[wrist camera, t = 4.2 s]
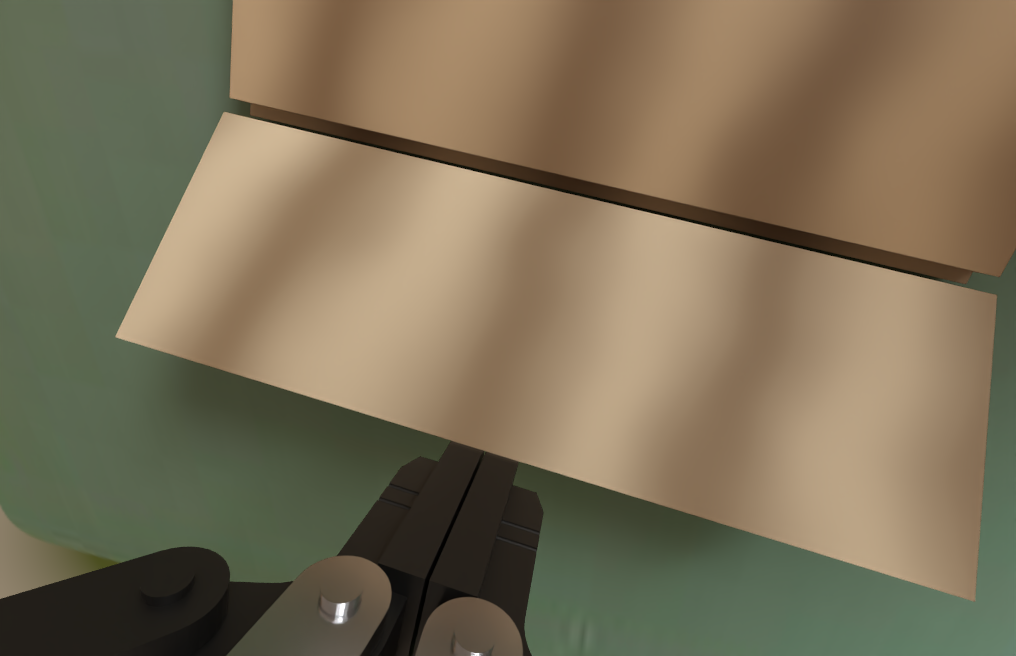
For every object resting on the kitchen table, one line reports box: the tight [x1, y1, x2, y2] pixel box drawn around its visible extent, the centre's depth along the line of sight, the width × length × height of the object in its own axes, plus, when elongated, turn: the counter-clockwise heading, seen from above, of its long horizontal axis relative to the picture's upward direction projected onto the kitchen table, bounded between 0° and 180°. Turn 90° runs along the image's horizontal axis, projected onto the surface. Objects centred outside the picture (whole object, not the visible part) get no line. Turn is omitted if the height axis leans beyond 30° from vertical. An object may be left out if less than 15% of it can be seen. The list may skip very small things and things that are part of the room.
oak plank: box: [115, 112, 997, 602], centre depth 14 cm, size 24×8×2 cm, turn 77°
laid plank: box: [230, 0, 1016, 284], centre depth 14 cm, size 24×8×2 cm, turn 77°
